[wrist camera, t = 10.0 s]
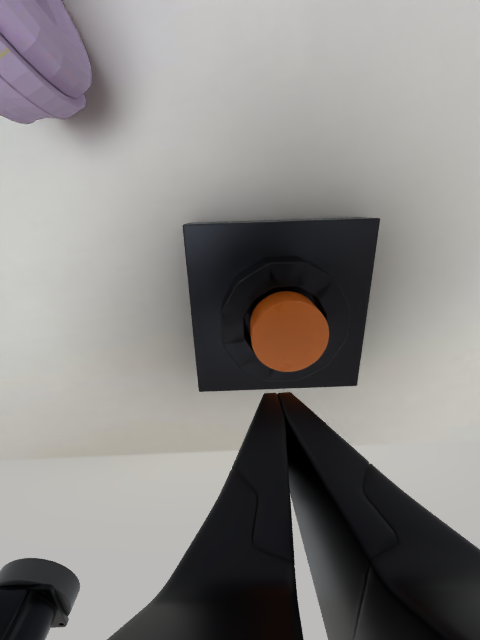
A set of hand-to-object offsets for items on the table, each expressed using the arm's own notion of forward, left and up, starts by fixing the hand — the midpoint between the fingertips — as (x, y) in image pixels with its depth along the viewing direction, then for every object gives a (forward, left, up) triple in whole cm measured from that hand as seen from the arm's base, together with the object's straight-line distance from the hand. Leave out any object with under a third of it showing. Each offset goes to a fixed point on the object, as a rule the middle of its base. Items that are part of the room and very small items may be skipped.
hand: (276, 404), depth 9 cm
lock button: (0, -1, -6) cm, 6 cm away
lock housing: (0, -1, -10) cm, 10 cm away
